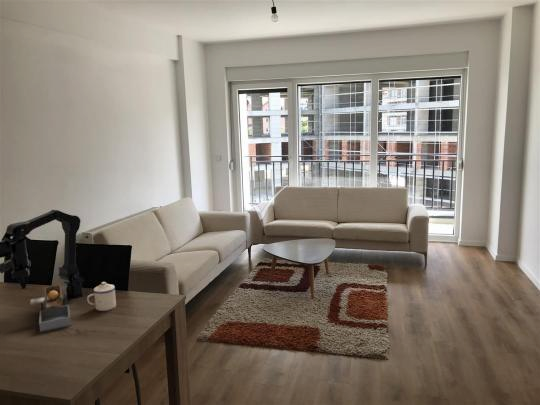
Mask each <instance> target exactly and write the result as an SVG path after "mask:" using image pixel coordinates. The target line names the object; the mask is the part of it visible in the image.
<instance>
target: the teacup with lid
mask: <svg viewBox="0 0 540 405" xmlns="http://www.w3.org/2000/svg"><path fill="white" fill-rule="evenodd" d="M100 283H101V284H99V285H97V286H96V287H94V288H93V293H90V294H88V295H87V298H86V300H87V303H88V304H89V305H94V306H95V310H97V311H99V312H101V311H102V312H104V311H109V310H113V309H115V308H116V306H117V299H116V298H117V297H116V287H115V285H114V284H109V283H107V282H106V281H102V282H100ZM93 296H94V302H91V301H90V297H93Z"/></svg>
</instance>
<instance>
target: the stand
mask: <svg viewBox="0 0 540 405" xmlns="http://www.w3.org/2000/svg"><path fill="white" fill-rule="evenodd" d="M63 296H64V303H65V305H68V297H67V293H66V294H64V295H63ZM65 305H64V306H65ZM40 306H41V308H40V309H41V310H45V306H44V302H42V303H40Z"/></svg>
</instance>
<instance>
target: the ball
mask: <svg viewBox="0 0 540 405" xmlns="http://www.w3.org/2000/svg"><path fill="white" fill-rule="evenodd" d="M48 297H49V299H51V300H55V299H56V298H57V297H58V292H57V291H55V290H53V291H50V292H49V294H48Z"/></svg>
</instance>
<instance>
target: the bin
mask: <svg viewBox="0 0 540 405" xmlns="http://www.w3.org/2000/svg"><path fill="white" fill-rule="evenodd" d="M70 312H71V311H70V305H69V304H67V305H63V306H60V307H55V308H50V309H45V308H44V310H42V309H41V310H39V317H38V318H39V320H38V324H39V333H43V332H48V331H51V330H52V331H53V330H58V329H63V328H68V327H71V326H72V321H71V313H70Z"/></svg>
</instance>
